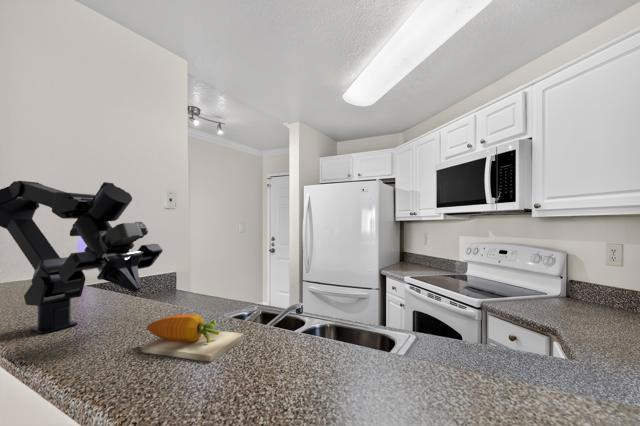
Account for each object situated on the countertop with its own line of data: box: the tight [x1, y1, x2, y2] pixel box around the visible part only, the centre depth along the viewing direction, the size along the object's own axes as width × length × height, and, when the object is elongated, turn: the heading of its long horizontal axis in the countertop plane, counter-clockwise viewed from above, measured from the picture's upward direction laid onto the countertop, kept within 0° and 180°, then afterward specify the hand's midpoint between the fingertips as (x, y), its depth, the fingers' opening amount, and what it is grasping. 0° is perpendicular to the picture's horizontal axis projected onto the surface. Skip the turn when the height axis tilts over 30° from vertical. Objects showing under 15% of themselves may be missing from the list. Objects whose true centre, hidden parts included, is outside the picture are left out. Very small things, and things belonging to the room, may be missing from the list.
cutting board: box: [141, 330, 245, 363], centre depth 55 cm, size 15×10×1 cm, turn 72°
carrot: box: [146, 313, 220, 343], centre depth 55 cm, size 5×5×15 cm
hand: (138, 290), depth 60 cm, fingers closed
